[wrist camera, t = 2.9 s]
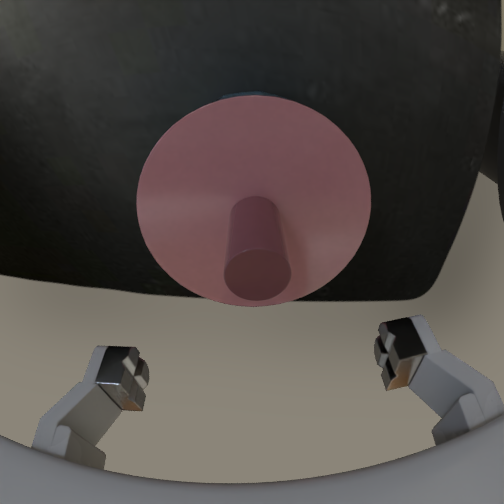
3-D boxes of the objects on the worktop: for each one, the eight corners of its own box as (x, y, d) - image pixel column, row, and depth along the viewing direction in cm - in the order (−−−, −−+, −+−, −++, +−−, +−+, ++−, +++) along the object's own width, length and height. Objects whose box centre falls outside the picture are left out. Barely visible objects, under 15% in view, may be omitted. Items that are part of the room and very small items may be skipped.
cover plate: (365, 88, 13) (425, 104, 8) (356, 284, 21) (382, 350, 16) (117, 119, 14) (58, 151, 9) (174, 303, 22) (158, 371, 17)
